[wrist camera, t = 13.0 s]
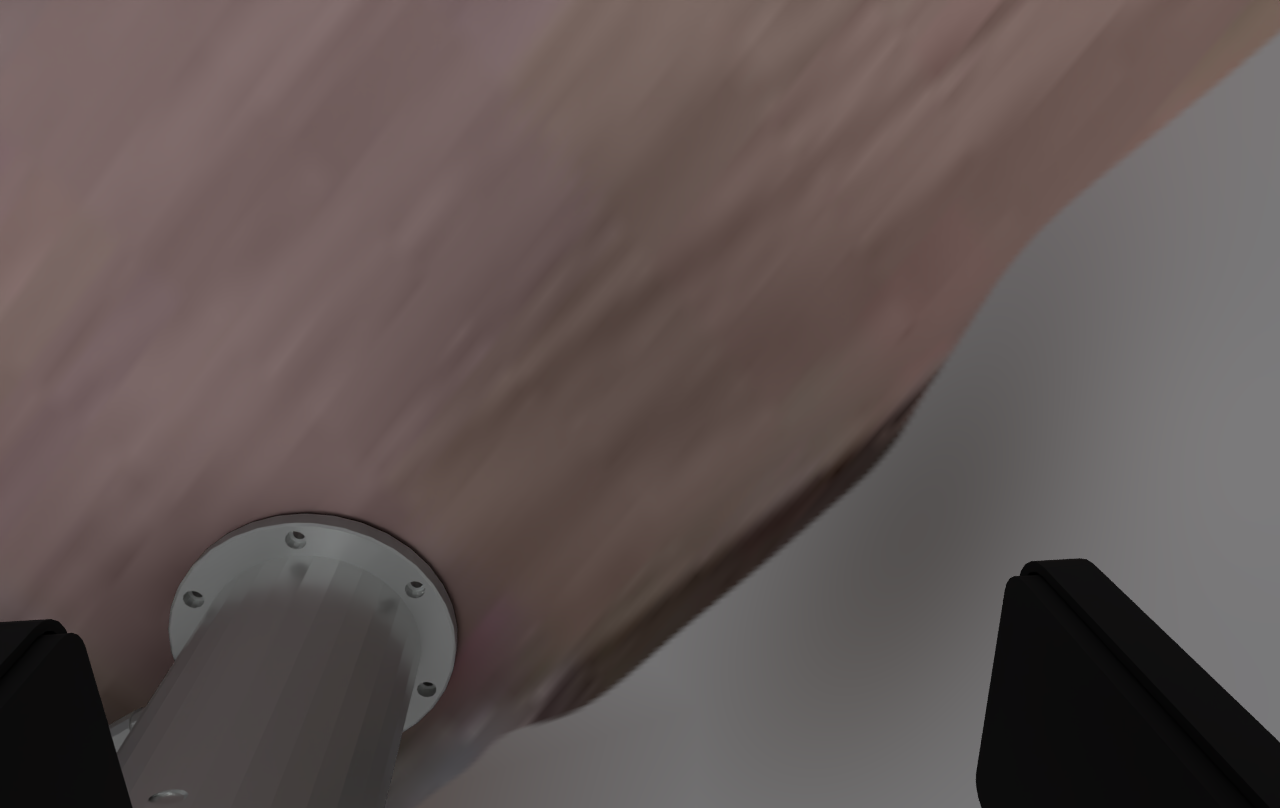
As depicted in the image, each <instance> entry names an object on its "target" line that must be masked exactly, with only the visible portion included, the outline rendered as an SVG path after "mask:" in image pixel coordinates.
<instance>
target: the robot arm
mask: <svg viewBox="0 0 1280 808" xmlns="http://www.w3.org/2000/svg"><path fill="white" fill-rule="evenodd" d="M299 532H300V533H299ZM301 533H302V534H301ZM457 628H458V627H457V623H456V618H455V613H454V609H453V605H452V603H451V601H450V599H449V596H448V594H447V592H446V590H445V588H444V586H443V584H442V583H441V581H440V580H439V579H438V577H437V576H436V575H435V573H434V572H433V570H432V569H431V568H430V566H429V565H428V564H427V563H426V562H424V561H423V560H422V559H421V558H420V557H419V556H418V555H417V554H416V553H415V552H414V551H413V550H412V549H410V548H409V547H407V546H406V545H404V544H403V543H401V542H400V541H398V540H397V539H395V538H393V537H392V536H390V535H389V534H387V533H385V532H382V531H380V530H378V529H375V528H373V527H371V526H368V525H366V524H364V523H361V522H357V521H353V520H349V519H345V518H341V517H337V516H330V515H318V514H293V515H281V516H275V517H271V518H267V519H263V520H259V521H255V522H251V523H249V524H247V525H245V526H243V527H241V528H238V529H236V530H234V531H232V532H230V533H228V534H226V535H225V536H224V537H222V538H221V539H220V540H218V541H217V542H215V543H214V544H213V545H211V546H210V547H209V548H207V550H206V551H205V552H204V553H203V554H202V555H201V556H200V558H199V559H198V560H197V561H196V562H195V563H194V564H193V565H192V567H191V568H190V570H189V571H188V573H187V575H186V576H185V578H184V579H183V581H182V582H181V584H180V585H179V587H178V589H177V592H176V595H175V597H174V600H173V603H172V605H171V609H170V618H169V627H168V632H169V639H170V647H171V653H172V655H173V658H174V661H175V662H174V663H173V665H172V666H171V668H170V669H169V671H168V673H167V674H166V676H165V677H164V679H163V680H162V682H161V684H160V685H159V687H158V688H157V690H156V691H155V693H154V694H153V696H152V698H151V699H150V701H149V702H148V704H147V706H146V707H144V708H140V709H137V710H135V711H133V712H131V713H129V714H128V715H126V716H124V717H122V718H121V719H119V720H117V721H115V722H113V723H112V724H110V725H108V722H107V719H106V715H105V712H104V708H103V705H102V702H101V698H100V695H99V691H98V688H97V685H96V681H95V678H94V674H93V671H92V668H91V664H90V661H89V657H88V654H87V651H86V647H85V645H84V643H83V640H82V639H81V638H80V637H79V636H78V635H77V634H74V633H67V632H66V629H65V628H64V627H63V626H62V624H61V623H60V622H58V621H55V620H52V619H46V620H29V621H12V622H0V808H384V807H385V803H386V799H387V795H388V791H389V786H390V782H391V778H392V774H393V770H394V766H395V762H396V758H397V753H398V749H399V745H400V741H401V737H402V733H403V732H404V731H406V730H407V729H409V728H410V727H412V726H413V725H415V724H416V723H418V722H419V721H420V720H421V719H422V718H423V717H424V716H425V715H426V714H427V713H428V712H429V711H430V710H431V709H432V708H433V707H434V706H435V704H436V703H437V701H438V700H439V698H440V697H441V695H442V694H443V692H444V691H445V689H446V687H447V684H448V682H449V679H450V676H451V674H452V671H453V668H454V662H455V657H456V652H457ZM976 787H977V793H978V798H979V801H980V804H981V807H982V808H1280V742H1279V741H1278V740H1277V739H1276V738H1275V737H1274V736H1273V735H1272V734H1270V732H1268V731H1267V730H1266V729H1265V728H1264V727H1263V726H1262V725H1261V724H1260V723H1259V722H1258V721H1257V720H1256V719H1255V718H1254V717H1253V716H1252V715H1251V714H1250V713H1249V712H1248V711H1247V710H1246V709H1244V708H1243V707H1242V706H1241V705H1240V704H1239V703H1238V702H1237V701H1236V700H1235V699H1234V698H1233V697H1232V696H1231V695H1230V694H1229V693H1228V692H1227V691H1226V690H1225V689H1223V688H1222V687H1221V686H1220V685H1219V684H1218V683H1217V682H1216V681H1215V680H1214V679H1213V678H1212V677H1211V676H1210V675H1209V674H1208V673H1207V672H1206V671H1205V670H1204V669H1203V668H1202V667H1201V666H1200V665H1199V664H1197V663H1196V662H1195V661H1194V660H1193V659H1192V658H1191V657H1190V656H1189V655H1188V654H1187V653H1186V652H1185V651H1184V650H1183V649H1182V648H1181V647H1180V646H1179V645H1178V644H1177V643H1176V642H1175V641H1174V640H1172V639H1171V638H1170V637H1169V636H1168V635H1167V634H1166V633H1165V632H1164V631H1163V630H1162V629H1161V628H1160V627H1159V626H1158V625H1157V624H1156V623H1155V622H1154V621H1153V620H1151V619H1150V618H1149V617H1148V616H1147V615H1146V614H1145V613H1144V612H1143V611H1142V610H1141V609H1140V608H1139V607H1138V606H1137V605H1136V604H1135V603H1134V602H1133V601H1132V600H1131V599H1130V598H1129V597H1128V596H1127V595H1125V594H1124V593H1123V592H1122V591H1121V590H1120V589H1119V588H1118V587H1117V586H1116V585H1115V584H1114V583H1113V582H1112V581H1111V580H1110V579H1109V578H1108V577H1107V576H1106V575H1105V574H1103V572H1101V571H1100V570H1099V569H1098V568H1097V567H1096V566H1095V565H1094V564H1093V563H1091V562H1090V561H1088V560H1087V559H1080V558H1079V559H1063V560H1045V561H1031V562H1029V563H1027V564H1025V566H1024V567H1023V569H1022V570H1021V573H1020V576H1014V577H1012V578H1010V579H1009V581H1008V582H1007V584H1006V588H1005V592H1004V599H1003V605H1002V612H1001V618H1000V624H999V631H998V638H997V644H996V651H995V657H994V663H993V669H992V676H991V682H990V689H989V695H988V701H987V707H986V714H985V720H984V727H983V733H982V740H981V747H980V752H979V759H978V765H977V772H976Z"/></svg>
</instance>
